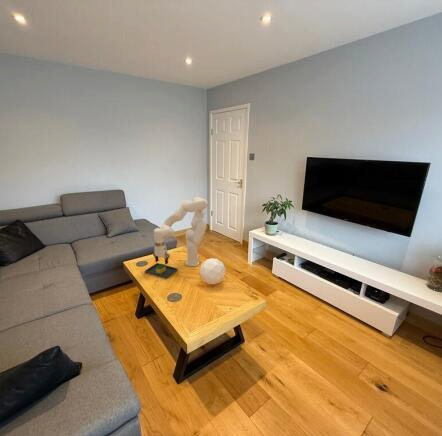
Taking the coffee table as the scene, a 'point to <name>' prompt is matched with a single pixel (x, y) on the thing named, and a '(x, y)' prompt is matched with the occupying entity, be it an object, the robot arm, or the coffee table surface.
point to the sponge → (160, 268)
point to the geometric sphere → (212, 271)
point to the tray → (164, 274)
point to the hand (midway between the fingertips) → (161, 262)
